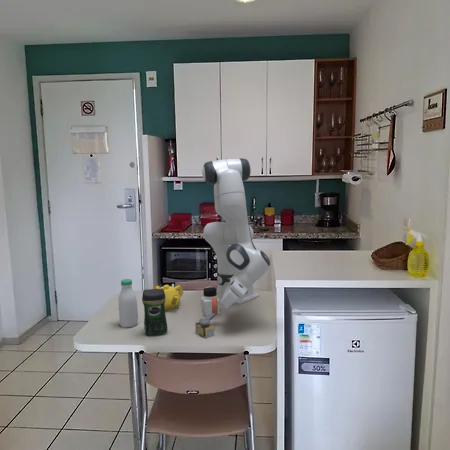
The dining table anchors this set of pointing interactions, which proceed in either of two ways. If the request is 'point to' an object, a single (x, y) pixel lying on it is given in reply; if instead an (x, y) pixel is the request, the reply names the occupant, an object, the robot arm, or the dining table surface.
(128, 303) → the milk bottle
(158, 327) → the coffee jar
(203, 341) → the dining table surface
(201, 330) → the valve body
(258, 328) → the dining table surface
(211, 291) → the medicine bottle
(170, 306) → the teapot
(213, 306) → the lever
